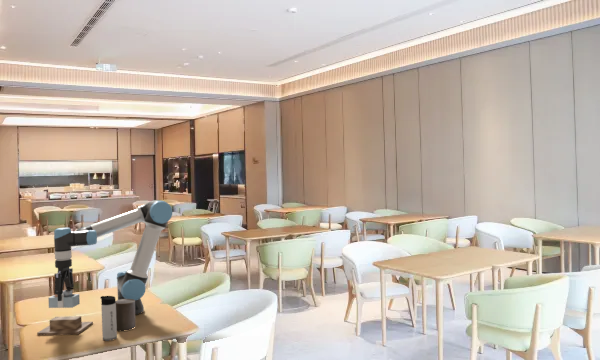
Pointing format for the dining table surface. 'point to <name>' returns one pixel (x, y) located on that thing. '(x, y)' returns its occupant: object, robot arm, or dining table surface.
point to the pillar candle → (125, 314)
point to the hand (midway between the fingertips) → (64, 304)
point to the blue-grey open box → (68, 301)
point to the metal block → (67, 293)
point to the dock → (65, 331)
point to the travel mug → (109, 318)
